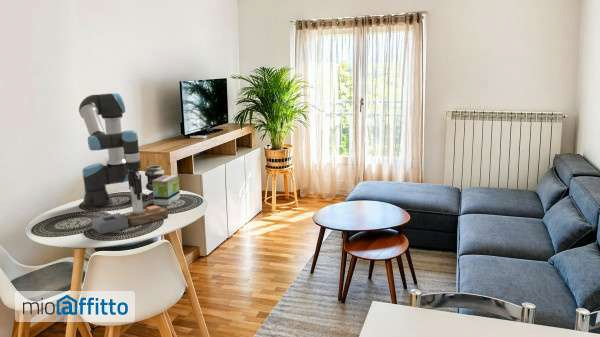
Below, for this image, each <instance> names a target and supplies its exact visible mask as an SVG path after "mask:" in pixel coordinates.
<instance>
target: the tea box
mask: <svg viewBox="0 0 600 337" xmlns="http://www.w3.org/2000/svg"><path fill="white" fill-rule="evenodd" d="M152 185H153V191H152V192H153V196H152V197H153V206H154V205H156V206H170V205H171V204H172V203H174V202H177V201H178V200H180V199H181V192H180V191H181V190H180V179H179V175H173V174H172V175H167V174H164V175H163V176H161V177H159V178H157V179H155V180H153V181H152ZM179 198H180V199H179Z"/></svg>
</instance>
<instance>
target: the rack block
mask: <svg viewBox="0 0 600 337" xmlns="http://www.w3.org/2000/svg"><path fill="white" fill-rule="evenodd" d="M122 214H123V213H122ZM122 214H121V213H120V212H116V213H113V214H109V215H103V216H99V217H95V218H91V226H92V227H91V228H92V229H93V230H94V231H95V232H96V233H98V234H99V235H103V234H108V233H111V232H115V231H119V230H120V231H121V230H124V229H128V228H129V225H128V219H127V217H125V216H123V215H122Z"/></svg>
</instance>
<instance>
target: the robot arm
mask: <svg viewBox="0 0 600 337" xmlns="http://www.w3.org/2000/svg"><path fill="white" fill-rule="evenodd" d="M78 112H79V115H80V117H81V118H82V119H83V120H84V124H85V126H86V129H87V132H88V135H89V136H88V137H87V145H88V150H90V151H102V150H107V153H108V159H107V161H106V164H105V165H104V164H103V163H101V162H100V163H94V164H89V165H87V166H85V167H83V169H82V178H83V184H84V196H83V200H82V201H83V206H84V207H89V208H91V207H92V208H94V207H101V206H106V205H108V204H110V203H111V202H112V201H111V200H112V199H111V197H110V194H109V192H108V191H107V185H108V186H109V185H114V184H119V183H120V184H122V183H126V182H128V189H129V190H130V186H134V187H135V193H134V194H135V199H136V206H140V205H142V204H143V201H142V202H141V195H142V193H143V187H142V174H140V173H139V169H141V168H142V167H141V161H140V159H141V154H140V147H139V139H138V138H139V136H138V132H137V130H133V129H132V130H123V131H122V122H121V119H122V118H123V114H125V113H126V106H125V101H124V99H123V97H122V95H121V94H120V93H100V94H91V95H88V96H86V97H84V98H83V99H82V100H81V102H80V104H79V106H78ZM100 116H101V119H102V120H104V125H105V129H104V127H103V125H102V122H101V119H100Z"/></svg>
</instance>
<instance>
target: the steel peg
mask: <svg viewBox="0 0 600 337" xmlns="http://www.w3.org/2000/svg"><path fill="white" fill-rule="evenodd" d="M129 190H130V197H131V198H130V199H131V207H132V212H133V215H134V216H138V215H142V214H144V213H143V209H144V208H143V197H142V194H141V202H142V205H140V206H136V199H135V194H134V193H135V187H134V186H130V189H129Z"/></svg>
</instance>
